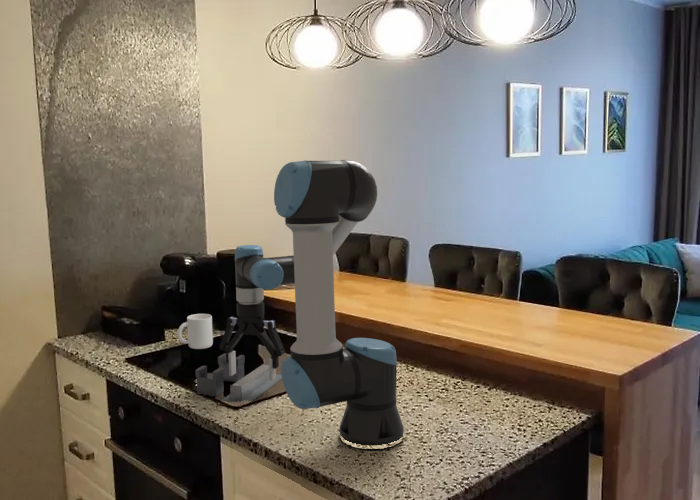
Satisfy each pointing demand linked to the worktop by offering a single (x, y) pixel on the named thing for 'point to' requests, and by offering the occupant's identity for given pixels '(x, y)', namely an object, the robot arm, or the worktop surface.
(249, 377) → the rail
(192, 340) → the mug
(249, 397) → the mat
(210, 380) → the post
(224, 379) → the post
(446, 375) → the worktop surface
